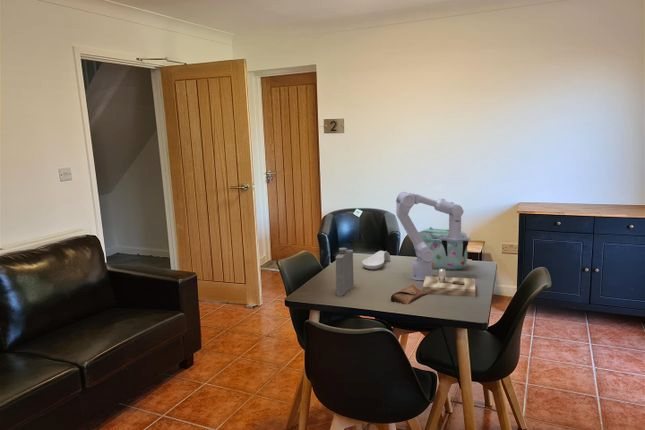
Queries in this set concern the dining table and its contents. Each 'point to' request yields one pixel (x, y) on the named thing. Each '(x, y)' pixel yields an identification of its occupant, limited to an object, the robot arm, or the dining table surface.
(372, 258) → the spoon rest
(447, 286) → the keyhole plate
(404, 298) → the sunglasses case
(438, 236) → the lunch box
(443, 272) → the peg
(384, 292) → the dining table surface
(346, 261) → the hip flask
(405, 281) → the dining table surface
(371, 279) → the dining table surface
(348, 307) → the dining table surface
